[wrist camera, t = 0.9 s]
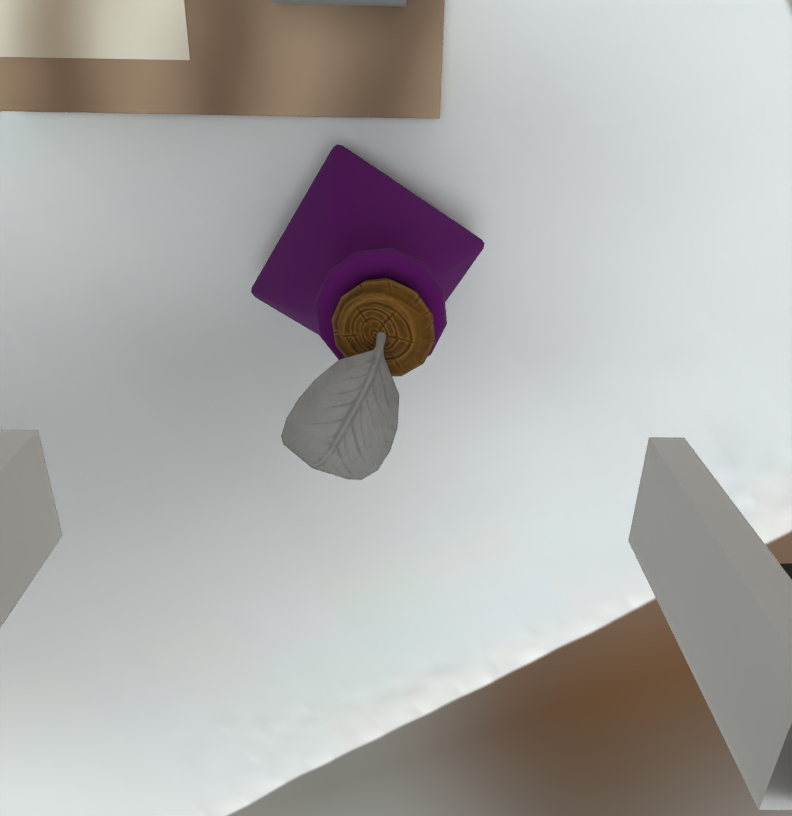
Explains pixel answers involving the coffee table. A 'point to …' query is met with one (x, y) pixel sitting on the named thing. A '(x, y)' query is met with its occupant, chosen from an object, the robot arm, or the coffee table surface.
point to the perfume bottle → (362, 304)
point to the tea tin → (343, 2)
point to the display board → (221, 58)
